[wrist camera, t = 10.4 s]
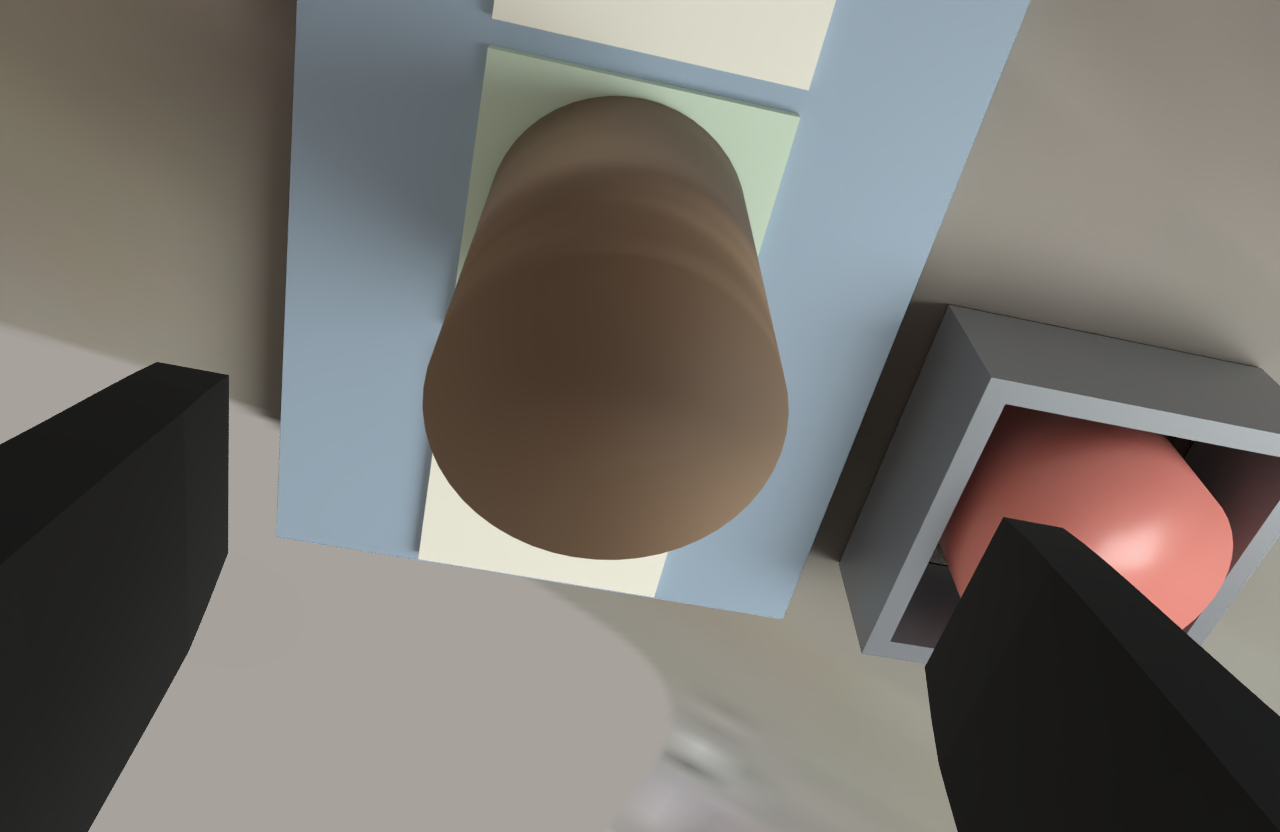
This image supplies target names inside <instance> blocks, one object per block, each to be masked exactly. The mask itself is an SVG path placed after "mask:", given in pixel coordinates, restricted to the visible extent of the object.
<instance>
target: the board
mask: <svg viewBox="0 0 1280 832" xmlns="http://www.w3.org/2000/svg"><path fill="white" fill-rule="evenodd" d="M1029 3H1030V0H297V14H296V40H295V66H294V91H293V117H292V143H291V169H290V194H289V220H288V246H287V271H286V297H285V323H284V348H283V374H282V400H281V426H280V452H279V477H278V504H277V529H276V537H279V538H285V539H291V540H297V541H304V542H309V543H316V544H322V545H328V546H335V547H340V548H347V549H353V550H359V551H365V552H371V553H377V554H383V555H390V556H396V557H402V558H408V559H415V560H421V561H427V562H433V563H439V564H445V565H452V566H458V567H464V568H470V569H477V570H482V571H488V572H495V573H501V574H507V575H513V576H519V577H525V578H532V579H538V580H544V581H550V582H556V583H562V584H569V585H575V586H581V587H587V588H593V589H599V590H606V591H612V592H618V593H624V594H630V595H637V596H643V597H649V598H655V599H661V600H667V601H674V602H680V603H686V604H692V605H698V606H704V607H711V608H717V609H723V610H729V611H735V612H741V613H748V614H754V615H760V616H766V617H772V618H778V619H783V616H784V614H785V612H786V609H787V607H788V604H789V602H790V599H791V597H792V594H793V592H794V589H795V587H796V584H797V582H798V579H799V577H800V574H801V572H802V569H803V567H804V564H805V562H806V559H807V557H808V554H809V552H810V549H811V547H812V544H813V542H814V539H815V537H816V534H817V532H818V529H819V527H820V524H821V522H822V519H823V517H824V514H825V512H826V509H827V507H828V504H829V502H830V499H831V497H832V494H833V492H834V489H835V487H836V484H837V482H838V479H839V477H840V474H841V472H842V469H843V467H844V464H845V462H846V459H847V457H848V454H849V452H850V449H851V447H852V444H853V442H854V439H855V437H856V434H857V432H858V429H859V427H860V424H861V422H862V419H863V417H864V414H865V412H866V409H867V407H868V404H869V402H870V399H871V397H872V394H873V392H874V390H875V387H876V385H877V382H878V380H879V377H880V375H881V372H882V370H883V367H884V365H885V362H886V360H887V357H888V355H889V352H890V350H891V347H892V345H893V342H894V340H895V337H896V335H897V332H898V330H899V327H900V325H901V322H902V320H903V317H904V315H905V312H906V310H907V307H908V305H909V302H910V300H911V297H912V295H913V292H914V290H915V287H916V285H917V282H918V280H919V277H920V275H921V272H922V270H923V267H924V265H925V262H926V260H927V257H928V255H929V252H930V250H931V247H932V245H933V242H934V240H935V237H936V235H937V232H938V230H939V227H940V225H941V222H942V220H943V217H944V215H945V212H946V210H947V207H948V205H949V202H950V200H951V197H952V195H953V192H954V190H955V187H956V185H957V182H958V180H959V178H960V175H961V173H962V170H963V168H964V165H965V163H966V160H967V158H968V155H969V153H970V150H971V148H972V145H973V143H974V140H975V138H976V135H977V133H978V130H979V128H980V125H981V123H982V120H983V118H984V115H985V113H986V110H987V108H988V105H989V103H990V100H991V98H992V95H993V93H994V90H995V88H996V85H997V83H998V80H999V78H1000V75H1001V73H1002V70H1003V68H1004V65H1005V63H1006V60H1007V58H1008V55H1009V53H1010V50H1011V48H1012V45H1013V43H1014V40H1015V38H1016V35H1017V33H1018V30H1019V28H1020V25H1021V23H1022V20H1023V18H1024V15H1025V13H1026V10H1027V8H1028V5H1029ZM604 96H628V97H635V98H641V99H646V100H650V101H653V102H657V103H660V104H663V105H665V106H668V107H670V108H672V109H675V110H677V111H679V112H681V113H682V114H684V115H685V116H687V117H689V118H690V119H692V120H694V121H695V122H696V123H697V124H699V125H700V126H701V127H702V128H704V129H705V130H706V131H707V132H708V133H709V134H710V135H711V136H712V137H713V138H714V139H715V140H716V141H717V142H718V144H719V145H720V146H721V148H722V149H723V150H724V152H725V153H726V155H727V156H728V157H729V159H730V161H731V163H732V165H733V167H734V169H735V171H736V173H737V175H738V178H739V181H740V184H741V186H742V190H743V194H744V199H745V203H746V208H747V212H748V217H749V221H750V225H751V230H752V234H753V239H754V243H755V248H756V252H757V257H758V261H759V265H760V270H761V274H762V279H763V283H764V288H765V292H766V297H767V301H768V306H769V310H770V314H771V319H772V323H773V328H774V332H775V337H776V341H777V346H778V350H779V355H780V359H781V363H782V368H783V372H784V377H785V382H786V387H787V392H788V409H789V416H788V425H787V433H786V437H785V441H784V445H783V448H782V452H781V455H780V457H779V459H778V462H777V464H776V466H775V468H774V471H773V472H772V474H771V476H770V477H769V479H768V480H767V482H766V484H765V485H764V487H763V488H762V490H761V491H760V492H759V493H758V494H757V496H756V497H755V498H754V499H753V500H752V502H751V503H750V504H749V505H748V506H747V507H746V508H745V509H743V510H742V511H741V512H740V513H739V514H738V515H737V516H736V517H735V518H733V519H732V520H731V521H729V522H728V523H727V524H725V525H724V526H722V527H721V528H720V529H718V530H717V531H715V532H713V533H711V534H709V535H708V536H706V537H704V538H702V539H700V540H698V541H696V542H693V543H691V544H689V545H686V546H684V547H682V548H679V549H675V550H672V551H669V552H665V553H662V554H658V555H653V556H647V557H642V558H635V559H623V560H594V559H585V558H576V557H570V556H566V555H561V554H557V553H552V552H549V551H546V550H543V549H540V548H537V547H534V546H531V545H529V544H527V543H524V542H522V541H520V540H518V539H515V538H513V537H511V536H510V535H508V534H506V533H504V532H503V531H501V530H499V529H498V528H496V527H494V526H493V525H491V524H490V523H489V522H487V521H486V520H485V519H483V518H482V517H481V516H479V515H478V514H477V513H476V512H475V511H474V510H473V509H472V508H471V507H469V506H468V505H467V504H466V503H465V502H464V501H463V500H462V499H461V498H460V496H459V495H458V494H457V493H456V491H455V490H454V489H453V488H452V487H451V485H450V484H449V483H448V481H447V479H446V478H445V476H444V475H443V473H442V471H441V470H440V468H439V466H438V464H437V462H436V460H435V458H434V455H433V453H432V451H431V448H430V445H429V442H428V438H427V434H426V431H425V426H424V417H423V409H422V407H423V387H424V382H425V377H426V372H427V367H428V364H429V361H430V359H431V356H432V353H433V350H434V347H435V344H436V342H437V339H438V336H439V333H440V330H441V327H442V325H443V322H444V319H445V316H446V313H447V310H448V308H449V305H450V302H451V299H452V296H453V293H454V290H455V288H456V285H457V282H458V279H459V276H460V273H461V271H462V268H463V265H464V262H465V259H466V256H467V254H468V251H469V248H470V245H471V242H472V239H473V237H474V234H475V231H476V228H477V225H478V222H479V220H480V217H481V214H482V211H483V208H484V205H485V202H486V200H487V197H488V194H489V191H490V188H491V185H492V183H493V180H494V177H495V175H496V172H497V169H498V167H499V165H500V163H501V162H502V160H503V158H504V156H505V154H506V153H507V151H508V150H509V149H510V147H511V146H512V145H513V143H514V142H515V141H516V140H517V139H518V138H519V137H520V136H521V135H522V133H523V132H524V131H525V130H526V129H527V128H529V127H530V126H531V125H533V124H534V123H535V122H536V121H538V120H539V119H540V118H542V117H544V116H545V115H547V114H549V113H551V112H552V111H554V110H556V109H558V108H561V107H563V106H565V105H568V104H570V103H573V102H577V101H581V100H585V99H589V98H595V97H604Z"/></svg>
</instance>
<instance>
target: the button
mask: <svg viewBox="0 0 1280 832" xmlns="http://www.w3.org/2000/svg"><path fill="white" fill-rule="evenodd" d="M1003 517H1007V518H1012V519H1018V520H1023V521H1029V522H1034V523H1040V524H1045V525H1051V526H1056V527H1062V528H1064V529H1065V530H1067V531H1068V532H1069V533H1071V534H1072V535H1073V536H1075V537H1076V538H1077V539H1079V540H1080V541H1081V542H1083V543H1084V544H1085V545H1086V546H1088V547H1089V548H1090V549H1091V550H1093V551H1094V552H1095V553H1096V554H1097V555H1099V556H1100V557H1101V558H1102V559H1103V560H1105V561H1106V562H1107V563H1108V564H1109V565H1110V566H1112V567H1113V568H1114V569H1115V570H1116V571H1117V572H1118V573H1120V574H1121V575H1122V576H1123V577H1124V578H1125V579H1126V580H1128V581H1129V582H1130V583H1131V584H1132V585H1133V586H1134V587H1136V588H1137V589H1138V590H1139V591H1140V592H1141V593H1142V594H1143V595H1144V596H1146V597H1147V598H1148V599H1149V600H1150V601H1151V602H1152V603H1153V604H1154V605H1156V606H1157V607H1158V608H1159V609H1160V610H1161V611H1162V612H1163V613H1164V614H1165V615H1167V616H1168V617H1169V618H1170V619H1171V620H1172V621H1173V622H1174V623H1175V624H1177V625H1178V626H1179V627H1180V628H1181V629H1184V628H1185V627H1186V626H1187V625H1189V624H1190V623H1191V622H1192V621H1193V620H1195V619H1196V618H1197V617H1198V616H1199V615H1200V614H1201V612H1202V611H1203V610H1204V609H1205V608H1206V607H1207V606H1208V605H1209V603H1210V602H1211V601H1212V600H1213V598H1214V597H1215V596H1216V594H1217V592H1218V591H1219V589H1220V588H1221V586H1222V584H1223V582H1224V580H1225V578H1226V575H1227V573H1228V571H1229V567H1230V563H1231V559H1232V552H1233V537H1232V530H1231V527H1230V524H1229V520H1228V518H1227V516H1226V514H1225V512H1224V511H1223V509H1222V507H1221V506H1220V505H1219V503H1218V502H1217V501H1216V500H1215V498H1214V497H1213V496H1212V495H1211V493H1210V492H1209V491H1208V489H1207V488H1206V487H1205V486H1204V484H1203V483H1202V482H1201V481H1200V479H1199V478H1198V477H1197V476H1196V474H1195V473H1194V472H1193V471H1192V469H1191V468H1190V467H1189V466H1188V464H1187V463H1186V462H1185V460H1184V459H1183V458H1182V457H1181V455H1180V454H1179V453H1178V452H1177V450H1176V449H1175V448H1174V447H1173V445H1172V444H1171V443H1170V442H1169V440H1168V439H1167V438H1166V436H1165V435H1163V434H1158V433H1153V432H1148V431H1142V430H1137V429H1132V428H1127V427H1122V426H1117V425H1111V424H1106V423H1101V422H1096V421H1091V420H1086V419H1080V418H1075V417H1070V416H1065V415H1060V414H1055V413H1050V412H1044V411H1039V410H1034V409H1029V408H1024V407H1019V406H1013V405H1008V404H1007V405H1005V406H1004V408H1003V410H1002V412H1001V414H1000V416H999V418H998V420H997V422H996V424H995V426H994V428H993V430H992V432H991V435H990V437H989V439H988V441H987V443H986V445H985V447H984V449H983V451H982V453H981V455H980V457H979V459H978V461H977V463H976V465H975V468H974V470H973V472H972V474H971V476H970V478H969V480H968V482H967V484H966V486H965V488H964V490H963V492H962V494H961V496H960V498H959V500H958V503H957V505H956V507H955V509H954V511H953V513H952V515H951V517H950V519H949V521H948V523H947V525H946V527H945V529H944V531H943V533H942V536H941V538H940V540H939V545H940V547H941V550H942V552H943V555H944V557H945V560H946V562H947V565H948V568H949V570H950V573H951V575H952V578H953V580H954V583H955V585H956V588H957V590H958V593H959V596H960V598H961V597H962V595H963V593H964V591H965V589H966V587H967V585H968V583H969V581H970V579H971V577H972V576H973V574H974V572H975V570H976V568H977V566H978V564H979V562H980V560H981V558H982V556H983V555H984V553H985V551H986V549H987V547H988V545H989V543H990V541H991V539H992V537H993V535H994V533H995V532H996V530H997V528H998V526H999V524H1000V522H1001V520H1002V518H1003Z"/></svg>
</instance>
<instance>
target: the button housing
mask: <svg viewBox="0 0 1280 832" xmlns="http://www.w3.org/2000/svg"><path fill="white" fill-rule="evenodd" d="M1005 404H1008V405H1013V406H1019V407H1024V408H1029V409H1034V410H1039V411H1044V412H1050V413H1055V414H1060V415H1065V416H1070V417H1075V418H1080V419H1086V420H1091V421H1096V422H1101V423H1106V424H1111V425H1117V426H1122V427H1127V428H1132V429H1137V430H1142V431H1148V432H1153V433H1158V434H1163V435H1168V436H1173V437H1179V438H1184V439H1189V440H1194V443H1193V444H1192V446H1191V447H1190V449H1189V451H1188V452H1187V454H1186V456H1185V457H1184V460H1185V462H1186V463H1187V464H1188V466H1189V467H1190V468H1191V469H1192V471H1193V472H1194V473H1195V474H1196V476H1197V477H1198V478H1199V479H1200V481H1201V482H1202V483H1203V484H1204V486H1205V487H1206V488H1207V489H1208V491H1209V492H1210V493H1211V495H1212V496H1213V497H1214V498H1215V500H1216V501H1217V502H1218V503H1219V505H1220V506H1221V507H1222V509H1223V511H1224V512H1225V514H1226V516H1227V518H1228V520H1229V524H1230V527H1231V530H1232V537H1233V552H1232V559H1231V563H1230V567H1229V571H1228V573H1227V575H1226V578H1225V580H1224V582H1223V584H1222V586H1221V588H1220V589H1219V591H1218V592H1217V594H1216V596H1215V597H1214V598H1213V600H1212V601H1211V602H1210V603H1209V605H1208V606H1207V607H1206V608H1205V609H1204V610H1203V611H1202V612H1201V614H1200V615H1199V616H1198V617H1197V618H1196V619H1195V620H1193V621H1192V622H1191V623H1190V624H1189V625H1187V626H1186V627H1185V628H1184V629H1182V630H1183V631H1184V632H1185V633H1187V634H1188V635H1189V636H1190V637H1191V638H1192V639H1193V640H1194V641H1195V642H1196V643H1198V644H1199V645H1200V646H1201V645H1202V644H1203V642H1204V641H1205V639H1206V638H1207V637H1208V635H1209V634H1210V632H1211V631H1212V630H1213V628H1214V627H1215V625H1216V624H1217V623H1218V621H1219V620H1220V618H1221V617H1222V616H1223V614H1224V613H1225V611H1226V610H1227V608H1228V607H1229V606H1230V604H1231V603H1232V601H1233V600H1234V599H1235V597H1236V596H1237V594H1238V593H1239V592H1240V590H1241V589H1242V587H1243V586H1244V585H1245V583H1246V582H1247V580H1248V579H1249V578H1250V576H1251V575H1252V573H1253V572H1254V571H1255V569H1256V568H1257V566H1258V565H1259V564H1260V562H1261V561H1262V559H1263V558H1264V556H1265V555H1266V554H1267V552H1268V551H1269V549H1270V548H1271V547H1272V545H1273V544H1274V542H1275V541H1276V540H1277V538H1278V537H1279V535H1280V386H1279V385H1278V384H1277V383H1276V382H1275V381H1274V380H1273V379H1272V378H1271V377H1270V376H1269V375H1268V374H1267V373H1266V372H1265V371H1264V370H1263V369H1261V368H1256V367H1251V366H1246V365H1242V364H1237V363H1232V362H1227V361H1222V360H1217V359H1212V358H1207V357H1203V356H1198V355H1193V354H1188V353H1183V352H1178V351H1173V350H1168V349H1163V348H1159V347H1154V346H1149V345H1144V344H1139V343H1134V342H1129V341H1124V340H1120V339H1115V338H1110V337H1105V336H1100V335H1095V334H1090V333H1085V332H1080V331H1076V330H1071V329H1066V328H1061V327H1056V326H1051V325H1046V324H1041V323H1036V322H1032V321H1027V320H1022V319H1017V318H1012V317H1007V316H1002V315H997V314H993V313H988V312H983V311H978V310H973V309H968V308H963V307H958V306H953V305H948V308H947V310H946V312H945V315H944V317H943V319H942V322H941V324H940V327H939V329H938V331H937V334H936V336H935V338H934V341H933V343H932V345H931V348H930V350H929V352H928V355H927V357H926V360H925V362H924V364H923V367H922V369H921V371H920V374H919V376H918V378H917V381H916V383H915V385H914V388H913V390H912V393H911V395H910V397H909V400H908V402H907V404H906V407H905V409H904V411H903V414H902V416H901V418H900V421H899V423H898V426H897V428H896V430H895V433H894V435H893V437H892V440H891V442H890V444H889V447H888V449H887V451H886V454H885V456H884V459H883V461H882V463H881V466H880V468H879V470H878V473H877V475H876V477H875V480H874V482H873V484H872V487H871V489H870V492H869V494H868V496H867V499H866V501H865V503H864V506H863V508H862V510H861V513H860V515H859V517H858V520H857V522H856V525H855V527H854V529H853V532H852V534H851V536H850V539H849V541H848V543H847V546H846V548H845V550H844V553H843V555H842V558H841V560H840V562H839V566H840V570H841V574H842V578H843V582H844V586H845V590H846V594H847V598H848V601H849V605H850V609H851V613H852V617H853V621H854V625H855V629H856V633H857V636H858V640H859V644H860V648H861V652H862V654H867V655H873V656H880V657H886V658H892V659H899V660H905V661H911V662H917V663H924V664H927V662H928V660H929V658H930V656H931V654H932V652H933V650H934V648H935V646H936V645H937V643H938V641H939V639H940V637H941V635H942V633H943V631H944V629H945V627H946V625H947V623H948V622H949V620H950V618H951V616H952V614H953V612H954V610H955V608H956V606H957V604H958V602H959V600H960V599H961V598H960V596H959V593H958V590H957V588H956V585H955V583H954V580H953V578H952V575H951V573H950V570H949V568H948V567H947V566H941V565H935V564H930V563H928V562H929V560H930V558H931V556H932V554H933V552H934V550H935V548H936V546H937V544H938V542H939V540H940V538H941V536H942V533H943V531H944V529H945V527H946V525H947V523H948V521H949V519H950V517H951V515H952V513H953V511H954V509H955V507H956V505H957V503H958V500H959V498H960V496H961V494H962V492H963V490H964V488H965V486H966V484H967V482H968V480H969V478H970V476H971V474H972V472H973V470H974V468H975V465H976V463H977V461H978V459H979V457H980V455H981V453H982V451H983V449H984V447H985V445H986V443H987V441H988V439H989V437H990V435H991V432H992V430H993V428H994V426H995V424H996V422H997V420H998V418H999V416H1000V414H1001V412H1002V410H1003V408H1004V406H1005Z"/></svg>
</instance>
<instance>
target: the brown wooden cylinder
mask: <svg viewBox="0 0 1280 832" xmlns="http://www.w3.org/2000/svg"><path fill="white" fill-rule="evenodd" d="M422 409H423V417H424V426H425V431H426V434H427V438H428V442H429V445H430V448H431V451H432V453H433V455H434V458H435V460H436V462H437V464H438V466H439V468H440V470H441V471H442V473H443V475H444V476H445V478H446V479H447V481H448V483H449V484H450V485H451V487H452V488H453V489H454V490H455V491H456V493H457V494H458V495H459V496H460V498H461V499H462V500H463V501H464V502H465V503H466V504H467V505H468V506H469V507H471V508H472V509H473V510H474V511H475V512H476V513H477V514H478V515H479V516H481V517H482V518H483V519H485V520H486V521H487V522H489V523H490V524H491V525H493V526H494V527H496V528H498V529H499V530H501V531H503V532H504V533H506V534H508V535H510V536H511V537H513V538H515V539H518V540H520V541H522V542H524V543H527V544H529V545H531V546H534V547H537V548H540V549H543V550H546V551H549V552H552V553H557V554H561V555H566V556H570V557H576V558H585V559H594V560H623V559H635V558H642V557H647V556H653V555H658V554H662V553H665V552H669V551H672V550H675V549H679V548H682V547H684V546H686V545H689V544H691V543H693V542H696V541H698V540H700V539H702V538H704V537H706V536H708V535H709V534H711V533H713V532H715V531H717V530H718V529H720V528H721V527H722V526H724V525H725V524H727V523H728V522H729V521H731V520H732V519H733V518H735V517H736V516H737V515H738V514H739V513H740V512H741V511H742V510H743V509H745V508H746V507H747V506H748V505H749V504H750V503H751V502H752V500H753V499H754V498H755V497H756V496H757V494H758V493H759V492H760V491H761V490H762V488H763V487H764V485H765V484H766V482H767V480H768V479H769V477H770V476H771V474H772V472H773V471H774V468H775V466H776V464H777V462H778V459H779V457H780V455H781V452H782V448H783V445H784V441H785V437H786V433H787V425H788V416H789V409H788V392H787V387H786V382H785V377H784V372H783V368H782V363H781V359H780V355H779V350H778V346H777V341H776V337H775V332H774V328H773V323H772V319H771V314H770V310H769V306H768V301H767V297H766V292H765V288H764V283H763V279H762V274H761V270H760V265H759V261H758V257H757V252H756V248H755V243H754V239H753V234H752V230H751V225H750V221H749V217H748V212H747V208H746V203H745V199H744V194H743V190H742V186H741V184H740V181H739V178H738V175H737V173H736V171H735V169H734V167H733V165H732V163H731V161H730V159H729V157H728V156H727V155H726V153H725V152H724V150H723V149H722V148H721V146H720V145H719V144H718V142H717V141H716V140H715V139H714V138H713V137H712V136H711V135H710V134H709V133H708V132H707V131H706V130H705V129H704V128H702V127H701V126H700V125H699V124H697V123H696V122H695V121H694V120H692V119H690V118H689V117H687V116H685V115H684V114H682V113H681V112H679V111H677V110H675V109H672V108H670V107H668V106H665V105H663V104H660V103H657V102H653V101H650V100H646V99H641V98H635V97H628V96H604V97H595V98H589V99H585V100H581V101H577V102H573V103H570V104H568V105H565V106H563V107H561V108H558V109H556V110H554V111H552V112H551V113H549V114H547V115H545V116H544V117H542V118H540V119H539V120H538V121H536V122H535V123H534V124H533V125H531V126H530V127H529V128H527V129H526V130H525V131H524V132H523V133H522V135H521V136H520V137H519V138H518V139H517V140H516V141H515V142H514V143H513V145H512V146H511V147H510V149H509V150H508V151H507V153H506V154H505V156H504V158H503V160H502V162H501V163H500V165H499V167H498V169H497V172H496V175H495V177H494V180H493V183H492V185H491V188H490V191H489V194H488V197H487V200H486V202H485V205H484V208H483V211H482V214H481V217H480V220H479V222H478V225H477V228H476V231H475V234H474V237H473V239H472V242H471V245H470V248H469V251H468V254H467V256H466V259H465V262H464V265H463V268H462V271H461V273H460V276H459V279H458V282H457V285H456V288H455V290H454V293H453V296H452V299H451V302H450V305H449V308H448V310H447V313H446V316H445V319H444V322H443V325H442V327H441V330H440V333H439V336H438V339H437V342H436V344H435V347H434V350H433V353H432V356H431V359H430V361H429V364H428V367H427V372H426V377H425V382H424V387H423V407H422Z"/></svg>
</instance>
